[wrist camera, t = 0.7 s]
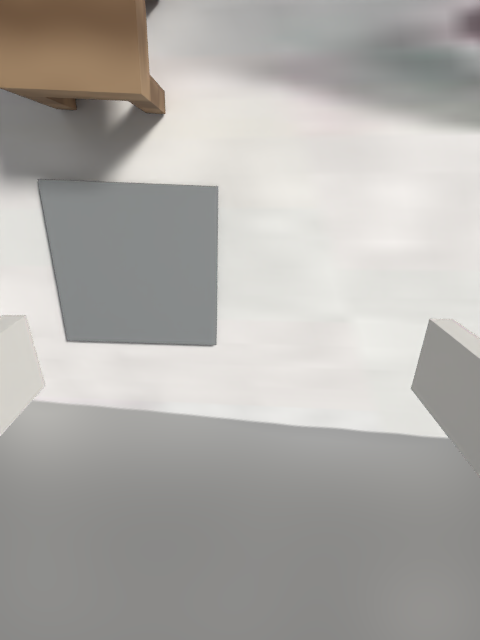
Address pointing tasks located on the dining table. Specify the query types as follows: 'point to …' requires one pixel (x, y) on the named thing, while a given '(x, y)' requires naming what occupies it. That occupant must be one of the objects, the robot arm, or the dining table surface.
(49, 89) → the wooden stool
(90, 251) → the mat
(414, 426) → the dining table surface
